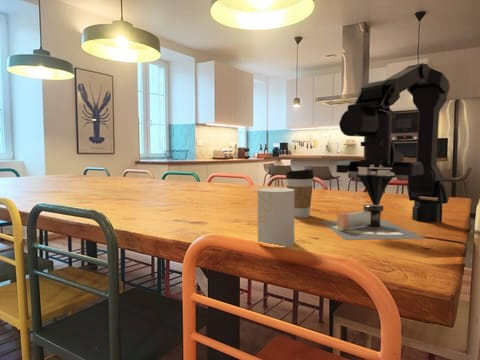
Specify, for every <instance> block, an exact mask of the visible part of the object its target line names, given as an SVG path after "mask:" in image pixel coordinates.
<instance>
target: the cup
mask: <svg viewBox="0 0 480 360" xmlns="http://www.w3.org/2000/svg"><path fill="white" fill-rule="evenodd" d="M256 192H257V193H256V194H257V196H256V197H257V198H256V199H257V201H256V202H257V243H258V242H263V243H268V244H274V245H279V246H285V247H286V248H290V247H293V246H294V245H295V217H294V189H289V188H287V187H266V188H265V187H263V188H258V189H257V191H256Z"/></svg>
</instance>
